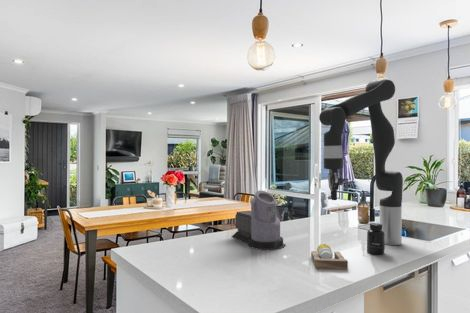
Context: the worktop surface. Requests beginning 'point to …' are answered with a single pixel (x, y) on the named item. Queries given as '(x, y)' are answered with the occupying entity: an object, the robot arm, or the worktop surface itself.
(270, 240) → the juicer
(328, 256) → the supplement bottle
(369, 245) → the supplement bottle
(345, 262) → the walnut U-rest
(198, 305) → the worktop surface
